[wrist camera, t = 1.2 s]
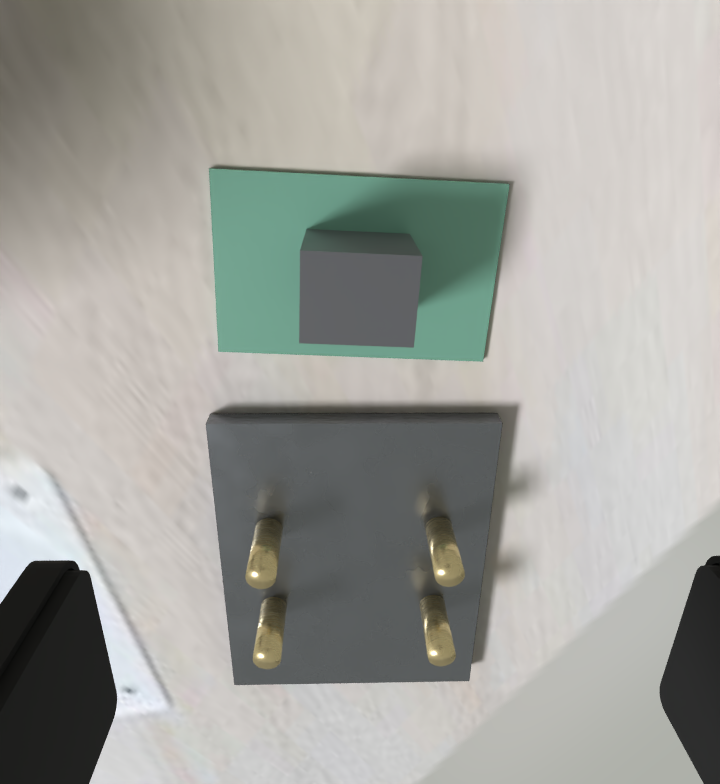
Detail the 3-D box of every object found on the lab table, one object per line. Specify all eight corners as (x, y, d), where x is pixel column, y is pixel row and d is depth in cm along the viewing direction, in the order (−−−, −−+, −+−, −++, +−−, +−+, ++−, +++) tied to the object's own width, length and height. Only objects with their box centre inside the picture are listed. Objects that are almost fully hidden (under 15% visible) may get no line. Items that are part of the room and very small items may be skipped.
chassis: (210, 414, 33) (188, 463, 28) (497, 413, 33) (522, 462, 29) (237, 670, 41) (224, 741, 37) (465, 666, 42) (481, 736, 37)
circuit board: (221, 346, 32) (197, 392, 27) (212, 167, 28) (182, 179, 23) (479, 355, 33) (506, 402, 27) (505, 182, 29) (542, 197, 24)
